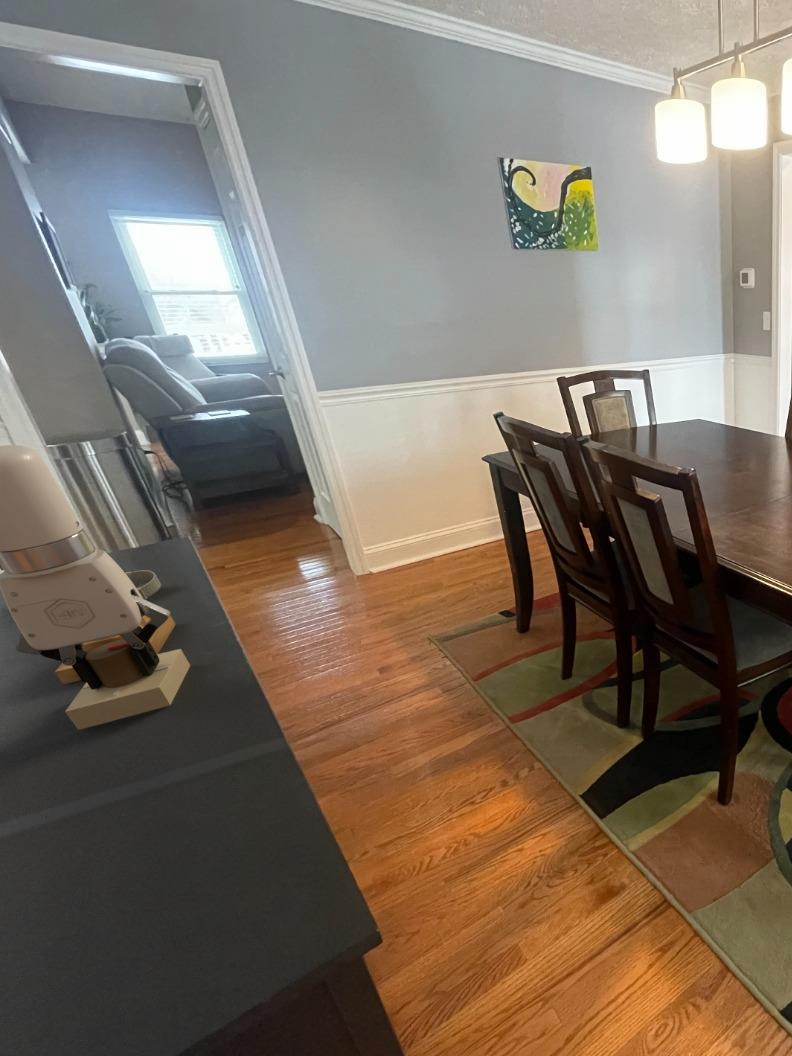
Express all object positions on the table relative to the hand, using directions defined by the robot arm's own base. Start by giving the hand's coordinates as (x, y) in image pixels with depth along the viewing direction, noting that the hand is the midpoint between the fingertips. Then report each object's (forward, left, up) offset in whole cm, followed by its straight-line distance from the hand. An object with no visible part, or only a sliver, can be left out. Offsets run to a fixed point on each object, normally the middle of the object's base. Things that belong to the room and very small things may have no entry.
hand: (125, 675), depth 78 cm
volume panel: (0, 0, -3) cm, 3 cm away
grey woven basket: (-10, +36, -4) cm, 38 cm away
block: (-6, +15, -3) cm, 16 cm away
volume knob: (0, 0, 0) cm, 0 cm away
